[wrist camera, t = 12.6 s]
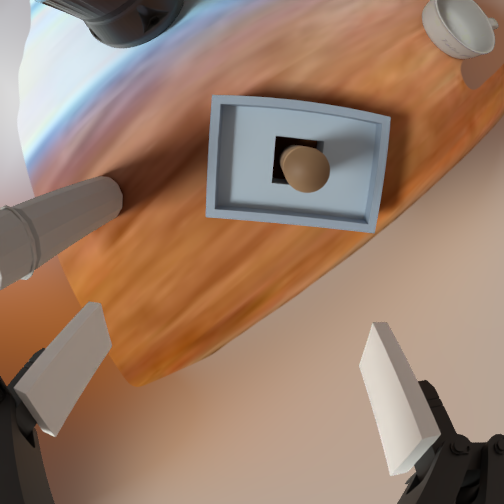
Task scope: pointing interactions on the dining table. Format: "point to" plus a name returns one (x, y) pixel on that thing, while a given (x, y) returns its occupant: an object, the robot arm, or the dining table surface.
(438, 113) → the dining table surface
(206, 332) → the dining table surface
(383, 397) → the robot arm
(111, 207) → the water bottle
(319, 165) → the peg
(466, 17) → the teacup
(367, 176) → the box
